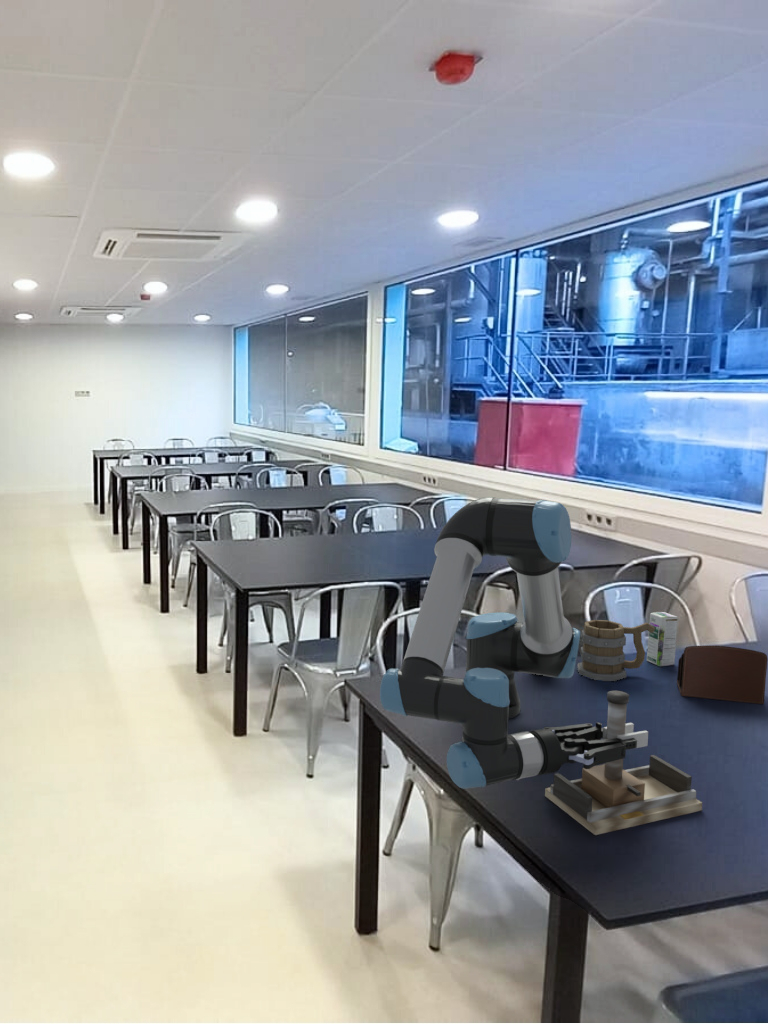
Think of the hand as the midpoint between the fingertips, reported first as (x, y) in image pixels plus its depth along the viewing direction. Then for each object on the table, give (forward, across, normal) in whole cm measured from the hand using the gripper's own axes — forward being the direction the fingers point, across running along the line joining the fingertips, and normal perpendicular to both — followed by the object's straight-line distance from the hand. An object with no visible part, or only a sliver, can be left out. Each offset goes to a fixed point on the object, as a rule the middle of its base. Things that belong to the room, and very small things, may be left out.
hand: (638, 734), depth 149 cm
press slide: (-5, +1, -11) cm, 13 cm away
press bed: (-3, 0, -13) cm, 13 cm away
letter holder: (+60, -38, -13) cm, 72 cm away
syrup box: (+64, -63, -13) cm, 91 cm away
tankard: (+44, -60, -13) cm, 75 cm away
